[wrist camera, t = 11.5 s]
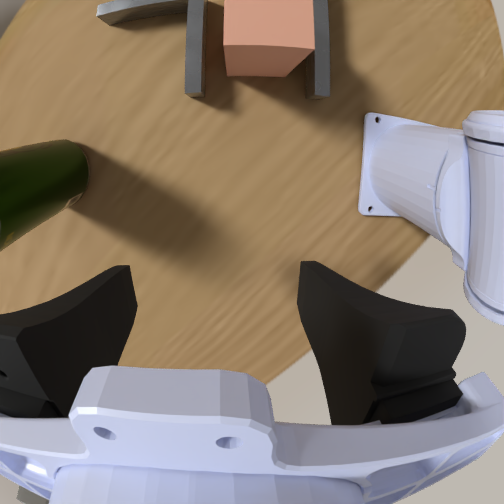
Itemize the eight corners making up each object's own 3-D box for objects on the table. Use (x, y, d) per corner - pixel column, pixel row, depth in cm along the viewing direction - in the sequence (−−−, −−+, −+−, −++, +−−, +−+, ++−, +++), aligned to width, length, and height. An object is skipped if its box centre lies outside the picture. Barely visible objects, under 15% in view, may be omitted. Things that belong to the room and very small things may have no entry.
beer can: (105, 172, 20) (1, 223, 9) (66, 217, 21) (-28, 289, 10) (67, 124, 18) (-48, 141, 7) (32, 172, 19) (-72, 216, 8)
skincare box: (32, 439, 37) (12, 496, 22) (62, 455, 39) (44, 513, 24) (36, 451, 40) (18, 502, 25) (62, 465, 41) (48, 518, 27)
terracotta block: (284, 28, 16) (311, -19, 9) (284, 77, 18) (314, 49, 10) (227, 27, 16) (225, -24, 9) (227, 76, 18) (223, 45, 10)
